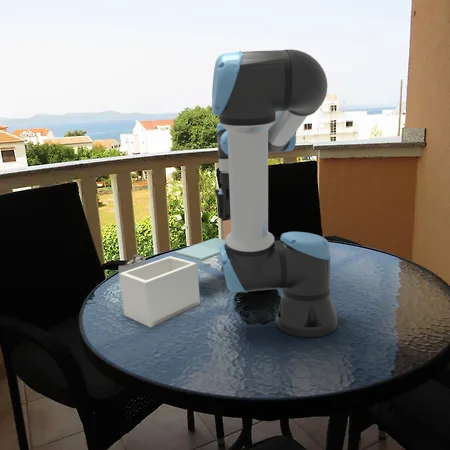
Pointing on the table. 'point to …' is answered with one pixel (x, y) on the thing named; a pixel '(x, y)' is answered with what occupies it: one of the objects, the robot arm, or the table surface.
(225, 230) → the lid
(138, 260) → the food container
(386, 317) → the table surface
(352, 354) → the table surface
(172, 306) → the tub
